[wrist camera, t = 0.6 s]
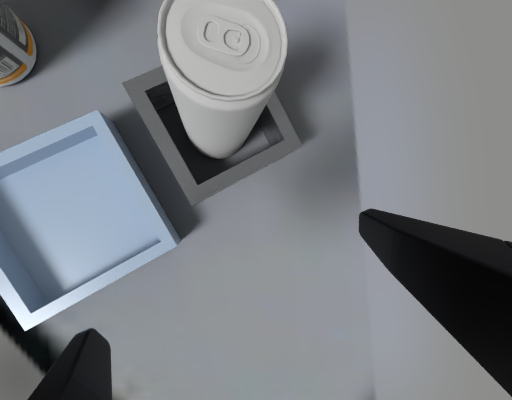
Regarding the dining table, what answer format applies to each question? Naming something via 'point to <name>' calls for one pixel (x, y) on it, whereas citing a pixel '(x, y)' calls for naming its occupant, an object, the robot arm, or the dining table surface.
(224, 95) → the beverage can
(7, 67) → the pill bottle
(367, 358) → the dining table surface
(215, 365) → the dining table surface
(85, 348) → the robot arm
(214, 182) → the short square tube
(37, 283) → the tray
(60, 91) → the dining table surface
